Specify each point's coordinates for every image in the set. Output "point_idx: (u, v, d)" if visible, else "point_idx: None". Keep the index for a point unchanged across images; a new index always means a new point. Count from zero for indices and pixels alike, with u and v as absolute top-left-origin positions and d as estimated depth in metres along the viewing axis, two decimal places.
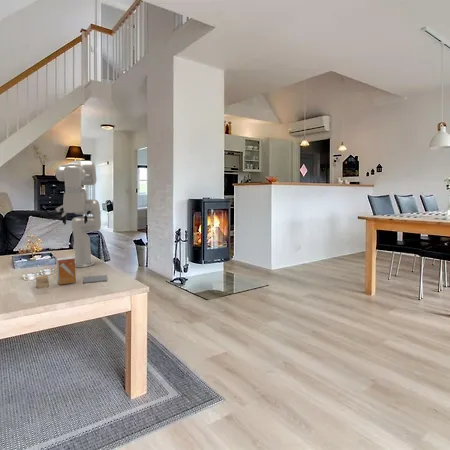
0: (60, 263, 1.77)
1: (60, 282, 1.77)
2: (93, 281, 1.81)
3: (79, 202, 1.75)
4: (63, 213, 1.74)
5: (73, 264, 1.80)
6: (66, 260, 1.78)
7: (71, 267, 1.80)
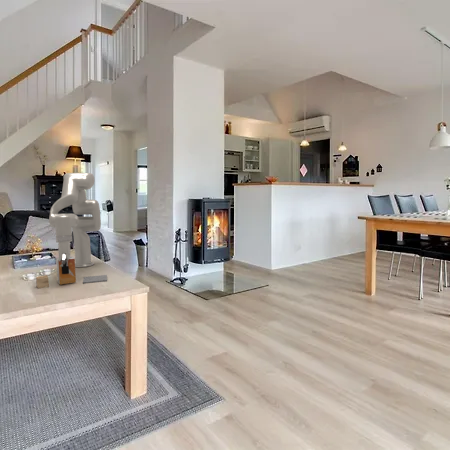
0: (60, 263, 1.77)
1: (60, 282, 1.77)
2: (93, 281, 1.81)
3: None
4: (67, 262, 1.77)
5: (73, 264, 1.80)
6: None
7: (71, 267, 1.80)
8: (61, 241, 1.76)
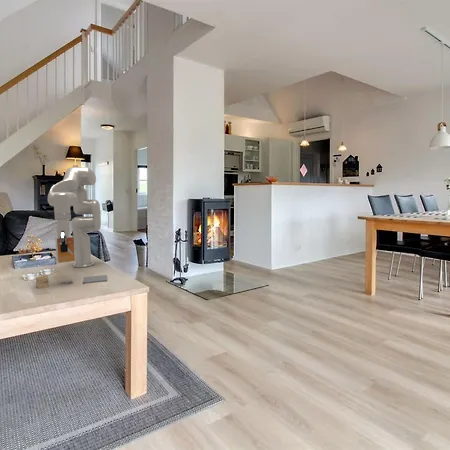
0: (59, 242, 1.76)
1: (59, 260, 1.77)
2: (93, 281, 1.81)
3: None
4: (66, 240, 1.76)
5: (72, 242, 1.79)
6: None
7: (70, 245, 1.79)
8: (60, 219, 1.75)
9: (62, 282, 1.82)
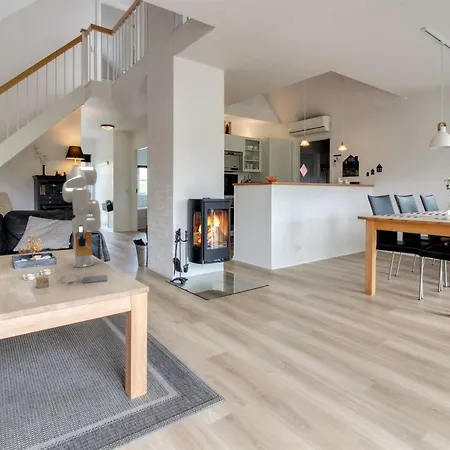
0: (77, 236, 1.79)
1: (77, 254, 1.80)
2: (93, 281, 1.81)
3: None
4: (84, 235, 1.79)
5: (89, 237, 1.82)
6: None
7: (87, 240, 1.82)
8: (78, 213, 1.78)
9: (62, 282, 1.82)
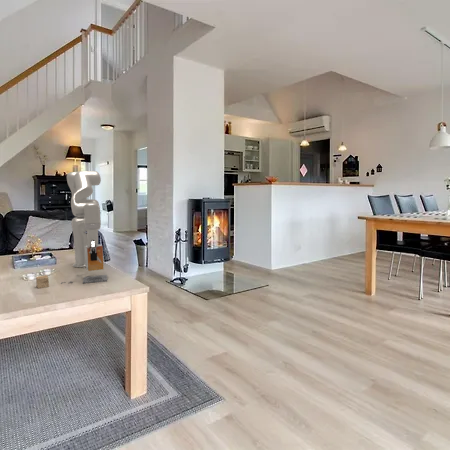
0: (89, 250, 1.82)
1: (89, 268, 1.82)
2: (93, 281, 1.81)
3: None
4: None
5: (101, 251, 1.85)
6: None
7: (99, 254, 1.84)
8: (90, 228, 1.81)
9: (62, 282, 1.82)
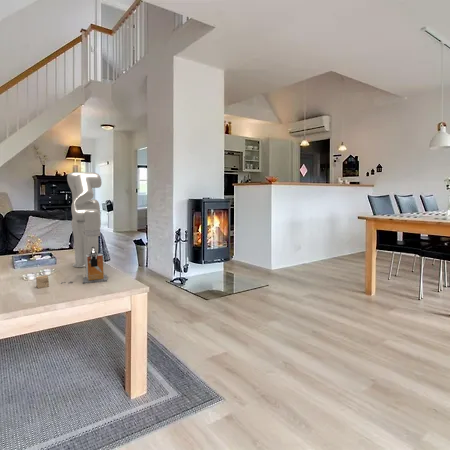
0: (89, 260, 1.82)
1: (89, 278, 1.83)
2: (93, 281, 1.81)
3: None
4: (96, 255, 1.82)
5: (101, 261, 1.85)
6: None
7: (99, 264, 1.85)
8: (90, 235, 1.81)
9: (62, 282, 1.82)
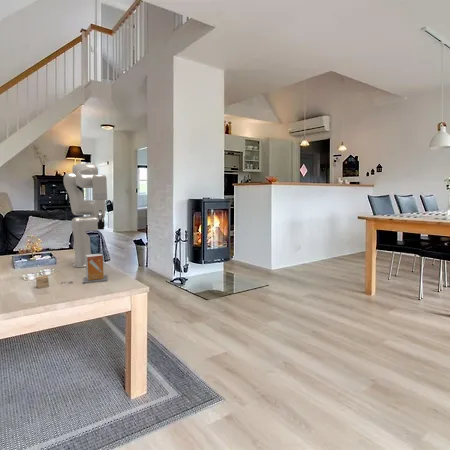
0: (89, 260, 1.82)
1: (89, 278, 1.83)
2: (93, 281, 1.81)
3: None
4: (103, 219, 1.87)
5: (101, 261, 1.85)
6: (94, 257, 1.83)
7: (99, 264, 1.85)
8: (97, 199, 1.86)
9: (62, 282, 1.82)
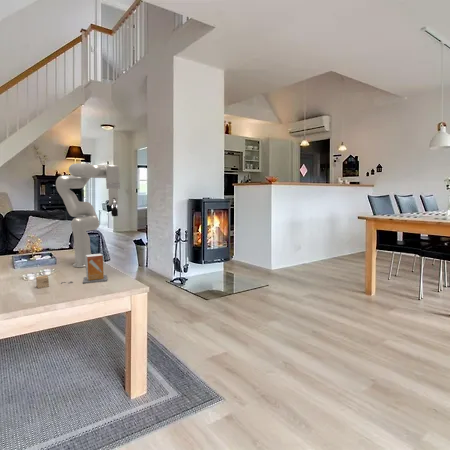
0: (89, 260, 1.82)
1: (89, 278, 1.83)
2: (93, 281, 1.81)
3: None
4: (116, 206, 1.98)
5: (101, 261, 1.85)
6: (94, 257, 1.83)
7: (99, 264, 1.85)
8: (111, 187, 1.97)
9: (62, 282, 1.82)
